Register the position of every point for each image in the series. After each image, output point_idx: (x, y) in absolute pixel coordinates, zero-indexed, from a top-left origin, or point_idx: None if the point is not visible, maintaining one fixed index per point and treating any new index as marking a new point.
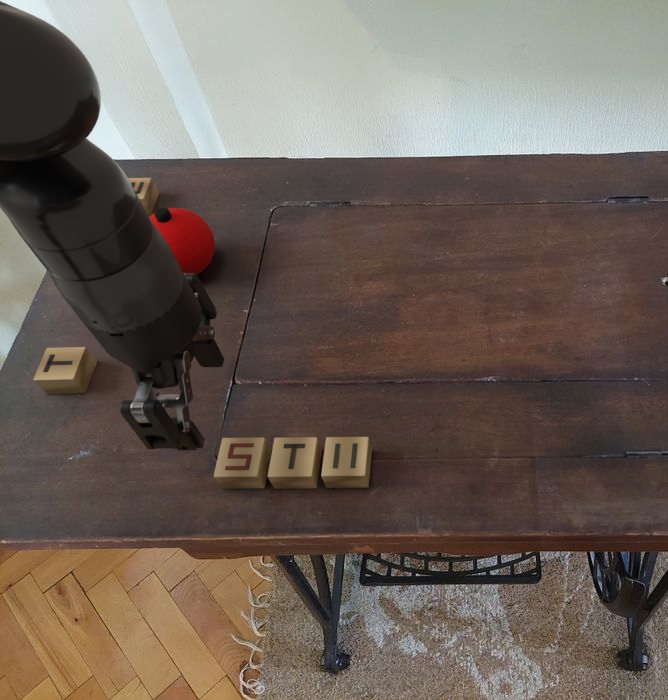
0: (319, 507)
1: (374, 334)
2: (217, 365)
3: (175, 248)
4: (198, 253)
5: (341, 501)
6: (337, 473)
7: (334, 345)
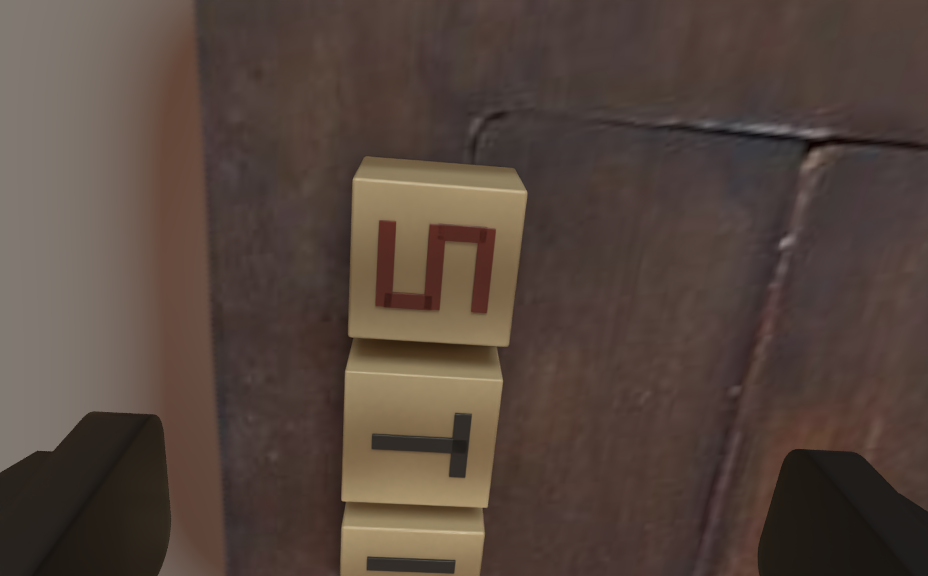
0: (290, 453)
1: None
2: (769, 552)
3: None
4: None
5: (308, 506)
6: (348, 569)
7: None
